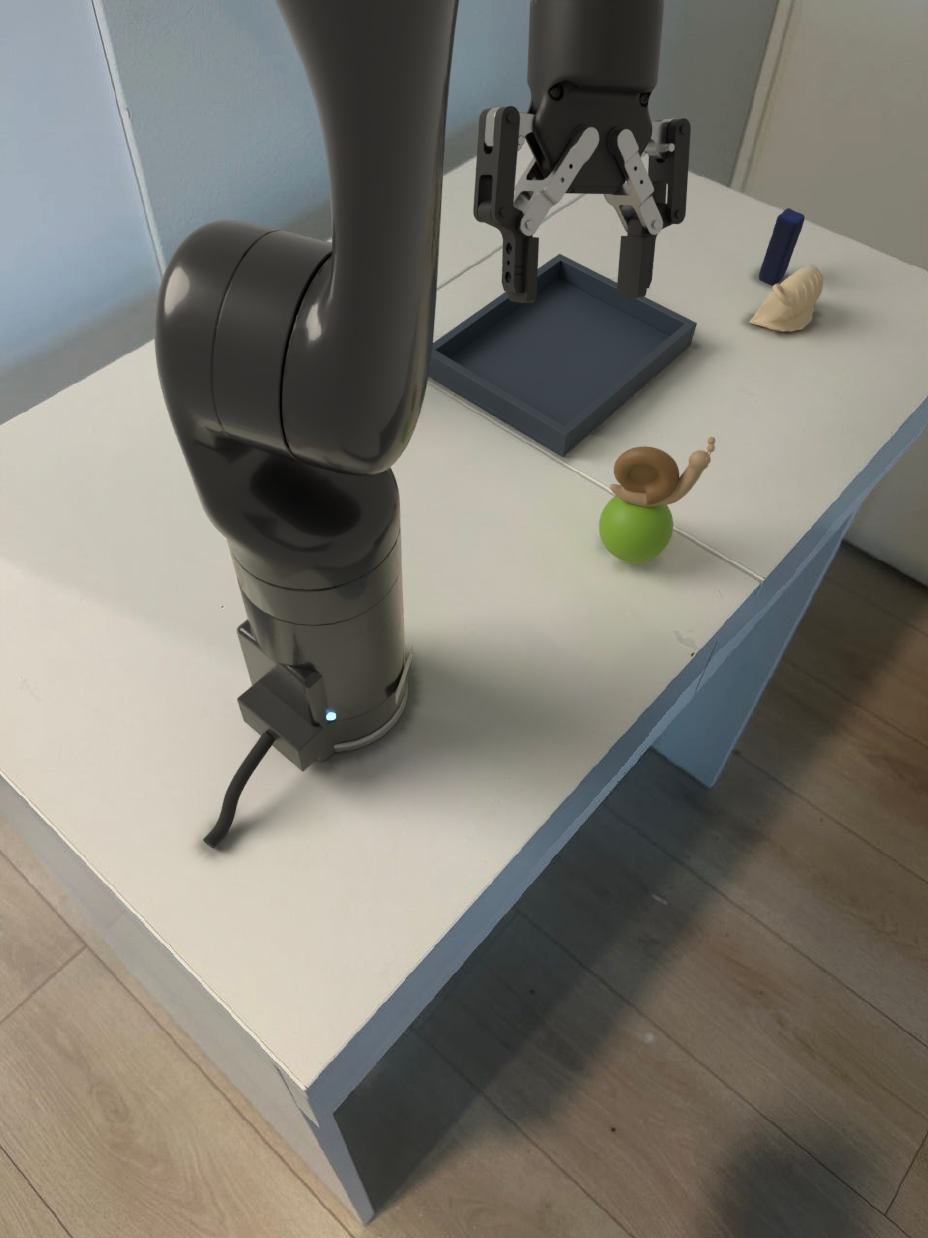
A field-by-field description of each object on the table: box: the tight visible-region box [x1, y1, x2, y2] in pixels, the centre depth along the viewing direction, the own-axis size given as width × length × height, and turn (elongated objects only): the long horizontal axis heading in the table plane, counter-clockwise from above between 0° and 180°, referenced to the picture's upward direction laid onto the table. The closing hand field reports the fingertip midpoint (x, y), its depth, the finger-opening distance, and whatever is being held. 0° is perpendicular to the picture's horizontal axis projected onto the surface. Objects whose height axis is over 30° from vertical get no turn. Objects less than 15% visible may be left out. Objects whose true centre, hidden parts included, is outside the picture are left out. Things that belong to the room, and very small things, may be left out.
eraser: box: [758, 207, 806, 287], centre depth 91 cm, size 2×2×7 cm
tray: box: [428, 253, 698, 458], centre depth 84 cm, size 20×16×2 cm
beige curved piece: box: [748, 264, 824, 333], centre depth 87 cm, size 4×8×5 cm, turn 132°
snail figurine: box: [598, 436, 716, 564], centre depth 67 cm, size 5×6×12 cm
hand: (578, 299), depth 60 cm, fingers open, 8 cm apart
